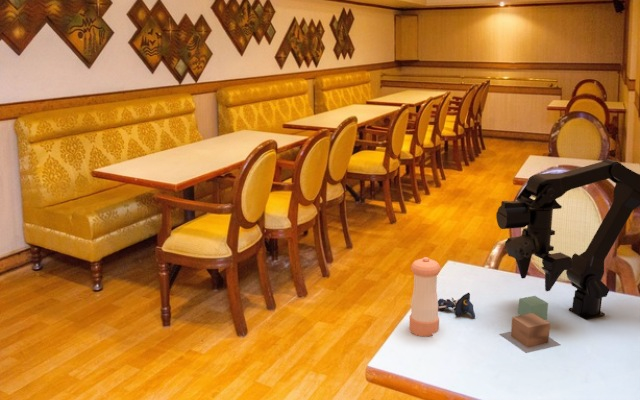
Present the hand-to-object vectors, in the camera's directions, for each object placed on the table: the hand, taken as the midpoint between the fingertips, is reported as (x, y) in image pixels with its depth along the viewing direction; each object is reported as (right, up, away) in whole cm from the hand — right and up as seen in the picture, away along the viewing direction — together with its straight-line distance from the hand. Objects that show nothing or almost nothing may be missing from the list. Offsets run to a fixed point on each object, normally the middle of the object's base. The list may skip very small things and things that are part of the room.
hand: (535, 284), depth 155 cm
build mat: (-5, -12, -10) cm, 16 cm away
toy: (-20, -9, +7) cm, 23 cm away
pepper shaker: (-29, -11, -3) cm, 31 cm away
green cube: (0, -9, +2) cm, 10 cm away
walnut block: (-5, -12, -10) cm, 16 cm away
